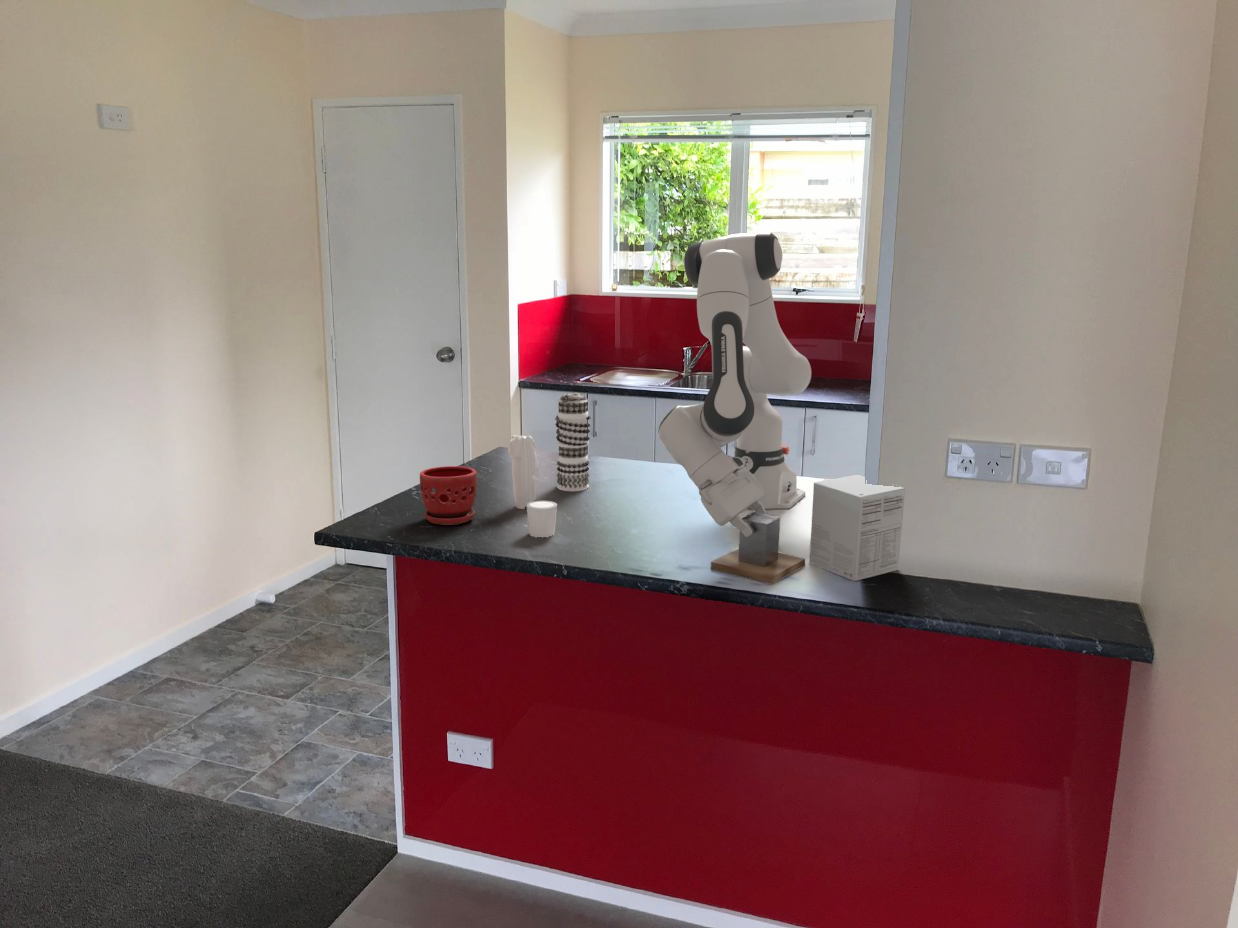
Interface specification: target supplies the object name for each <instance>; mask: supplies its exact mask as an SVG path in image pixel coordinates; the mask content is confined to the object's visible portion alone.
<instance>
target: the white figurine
mask: <svg viewBox="0 0 1238 928" xmlns="http://www.w3.org/2000/svg"><path fill="white" fill-rule="evenodd" d="M508 443H509V444H508V449H507V453H508V454H509V455H510V456H511V457H512V465H511V467H512V468H511V470H512V472H511V473H512V477H511V478H512V479H511V480H512V489H513V496H514V502H515V507H516V509H520V510H525V509H526V508H527V506H526V505H527V504H528V503H530V502H533V501H537V500H538V499H537V498H538V491H539V490H538V488H539V486H538V485H539V476H540V473H539V468H538V456H537V452H536V442H535V440H534V438H533V437H532V436H531V435H530V434H522V435H521V434H517V435H515V434H512V436H511V439H510V440H509V442H508Z"/></svg>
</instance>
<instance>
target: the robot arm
mask: <svg viewBox="0 0 1238 928" xmlns="http://www.w3.org/2000/svg"><path fill="white" fill-rule="evenodd" d="M782 261H783V249H782V245H781V243H780V242H779V239H778V236H776V235H775V234H774V233H773V232H770V231H760V230H759V231H757V232H745V233H744V232H743V233H741V232H740V233H734V234H729V235H726V236H720V237H716V238H711V239H708V240H705V241H704V240H698V241H696V242H694V243H692V244H690V245H688V247H687V249H686V250H685V252H684V259H683V268H684V272H685V275H686V276H685V277H686V279H687V281H688V282H689V284H691V285H692V286H694V287H695V288H696V289H697V290H696V313H697V319H698V326H699V331H700V332H701V334H702V335H703V336H704V337H705V338H707V339H708V341H709V342H710V346H711V367H712V368H711V371H712V372H711V374H712V375H711V377H712V381H711V385H710V388H709V389H708V392H707V394H706V397H705V398H704V401H703V402H700V403H697V404H690V405H677V406H674V407H673V408H672V409H671V410H669V412H668V413H667V414H666V415H665V417H664V418H663V419H662V421H661V422H660V424H659V426H658V430H657V431H658V438H659V439H660V441H661V444H662V445H663V446H664V447H665V448H666V451H667V452H668V453H669V454H670V455H671V457H672V458H673V459H674V460H675V462H676V463H677V464H678V465H680V466H681V467H683V469H684V471H685V472H686V473H687V475H688V478H689V479H690V480H691V481H692V482H693V483H694V485H695V486H696V488H697V489H698V494H699V496H700V501H701V504H702V505H703V507H704V508H705V510H706V511H707V512H708V514H709V516H710V517H711V518H712V520H713V521H714V523H716V524H717V525H718V526H720V527H724V526H725V525H726V524H728V523H729V524H730V525H731V526H732V527H734V528H735V529H736V530H738V531H739V532H740V531H741V532H742V533H743V534H744V535H745V536H746V537H748V536H749V535H751V534H752V533H753V532H754V529H753V528H752V526H751V525H750V524H749V525H748V524H746V523H745V522H744V521H743V520H742V518H743V516H741V515H740V514H741V513H743V512H745V511H746V510H747V509H751V510H752V511H754V512H756V513H761V514H766V515H769V514H768V513H767V511H766V510H768V509H769V510H771V509H790V508H792V507H793V506H795V504H797V503H798V502H799V501H800V500H802V499H803V498H804V497H805V496H806V491H805V490H802V489H801V488H797V474H796V472H795V471H794V470H793V469H792V468H791V467H790V465H789V466H788V464H787V463H786V462H785V455H786V456H787V455H789V453H790V447H789V446H783V445H782V442H783V441H782V440H783V439H782V436H783V418H782V415H781V414H780V413H779V411H778V410H777V409H775V408H774V407H773V406H772V405H771V403H770V401H769V398H768V395H773V396H779V397H780V396H781V397H785V396H795V395H796V396H797V395H800V394H802V393H803V392H804V391H805V390H806V389H807V387H808V386H809V384H810V383H811V380H812V367H811V364H810V362H809V360H808V358H807V357H806V356H805V355H803V354H801V352H799V350H797V349H796V348H795V347H794V345H792V343H791V342H790V341H789V339H788V338H787V336H786V335H785V333H784V332H783V329H782V328H781V326H780V323H779V320H778V315H777V312H776V308H775V307H776V306H775V303H774V298H773V297H774V296H773V292H772V286H771V282H770V279H772V278H775V276H776V275H777V274H779V272H780V271H781V268H782ZM735 441H736V445H735V447H734V451H733V456H732V455H731V456H730V455H727V454H726V453H725V452H724V450H723V447H725V446H726V445H728V444H730V443H733V442H735Z"/></svg>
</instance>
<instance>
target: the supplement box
mask: <svg viewBox="0 0 1238 928" xmlns="http://www.w3.org/2000/svg"><path fill="white" fill-rule="evenodd" d="M865 477H866V476H864V475H860V474H853V475H848V476H847V475H846V476H842V477H837V478H829V479H830V480H825V481H823V480H820V481H816V482H813V494H812V496H813V497H812V510H811V511H812V513H811V527H810V528H811V529H810V542H809V543H810V545H809V546H810V547H809V561H808V563H810V564H812V565H814V566H816V567H818V568H821V569H824V570H826V571H829V572H831V573H833V574H836V575H839V576H840V577H844V578H846V579H847V580H850V581H853V582H856V581H860V580H863V579H868V578H872V577H877V576H880V575H884V574H887V573H891V572H895V571H899V566H900V554H901V553H900V551H901V543H902V529H903V517H904V506H905V493H906V487H902V486H899V487H894V486H883V485H872V484H867V480H866V484H865Z"/></svg>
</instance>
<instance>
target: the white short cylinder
mask: <svg viewBox="0 0 1238 928" xmlns="http://www.w3.org/2000/svg"><path fill="white" fill-rule="evenodd" d="M526 506H527V507H526V513H527V521H528V531H529V536H531V537H533V536H534V537H533V538H537V537H542V538H543V537H546V538H550V537H549V536H551V537H553V536H555V534H554V533H555V532H556V521H557V513H558V512H557V511H558V504H557V502H554V501H551V500H535V501H533V502H530V503H528V504H527V505H526ZM552 535H553V536H552ZM542 538H541V539H542Z"/></svg>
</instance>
